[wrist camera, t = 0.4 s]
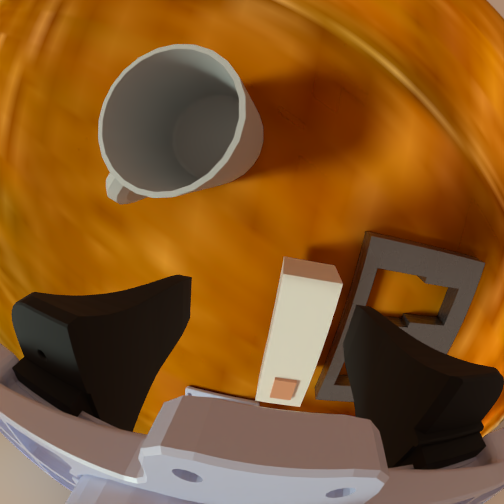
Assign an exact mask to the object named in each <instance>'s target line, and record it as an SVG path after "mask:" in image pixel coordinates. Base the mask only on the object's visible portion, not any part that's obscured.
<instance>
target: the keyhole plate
mask: <svg viewBox="0 0 504 504" xmlns="http://www.w3.org/2000/svg"><path fill="white" fill-rule="evenodd" d="M484 265H485V263H484V262H482V261H481V260H479V259H478V258H476V257H472V256H469V255H465V254H461V253H457V252H454V251H450V250H446V249H442V248H438V247H434V246H430V245H426V244H422V243H417V242H413V241H409V240H405V239H400V238H396V237H391V236H387V235H382V234H378V233H373V232H368V231H365V235H364V240H363V244H362V248H361V252H360V256H359V259H358V263H357V267H356V271H355V274H354V278H353V281H352V285H351V288H350V291H349V295H348V298H347V301H346V305H345V308H344V311H343V314H342V317H341V320H340V323H339V326H338V329H337V332H336V335H335V337H334V340H333V343H332V346H331V348H330V351H329V354H328V356H327V359H326V362H325V364H324V367H323V369H322V372H321V374H320V377H319V379H318V382H317V384H316V386H315V398H316V399H318V400H331V401H348V402H354V399H353V395H352V390H351V386H350V382H349V378H348V375H340V374H339V372H340V370H341V368H342V365H343V363H344V361H345V360H344V349H343V342H344V339H345V336H346V333H347V331H348V328H349V325H350V322H351V319H352V316H353V313H354V310H355V307H356V305H362V306H366V303H367V300H368V297H369V294H370V291H371V288H372V285H373V281H374V278H375V275H376V271H377V268H380V269H385V270H391V271H396V272H402V273H407V274H413V275H417V276H418V277H419V278H420V279H421V280H422V281H423V282H424V283H428V284H434V285H439V286H445V287H448V290H447V292H446V295H445V298H444V300H443V303H442V305H441V308H440V310H439V313H438V315H437V317H432V316H423V315H414V314H405V313H403V316H402V318H396V317H387V316H384V317H386V318H387V319H389V320H390V321H391V322H393V323H394V324H395V325H397V326H398V327H399V328H401V329H402V330H404V331H405V332H407V333H408V334H410V335H411V336H413V337H414V338H416V339H417V340H419V341H421V342H422V343H424V344H426V345H428V346H430V347H431V348H433V349H435V350H438V351H440V352H442V353H444V354H447V352H448V351H449V349H450V347H451V345H452V343H453V341H454V339H455V337H456V335H457V333H458V331H459V329H460V327H461V324H462V322H463V320H464V318H465V316H466V313H467V311H468V309H469V306H470V304H471V301H472V299H473V296H474V294H475V291H476V288H477V286H478V283H479V280H480V277H481V274H482V271H483V268H484Z"/></svg>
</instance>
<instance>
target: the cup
mask: <svg viewBox="0 0 504 504" xmlns="http://www.w3.org/2000/svg"><path fill="white" fill-rule="evenodd" d="M98 140H99V145H100V150H101V154H102V157H103V159H104V162H105V164H106V166H107V168H108V169H109V171H110V174H109V175H108V177H107V179H106V190H107V195H108V197H109V198H111V199H112V200H114V201H116V202H117V203H119V204H129V203H132V202H136V201H138V200H141V199H144V198H146V197H152V198H162V197H175V196H179V195H183V194H187V193H190V192H194V191H198V190H202V189H206V188H210V187H215V186H219V185H222V184H225V183H229V182H232V181H234V180H235V179H237V178H239V177H240V176H242V175H244V174H245V173H246V172H247V171H248V170H249V169H250V168H251V167H252V166H253V165H254V163H255V161H256V160H257V158H258V156H259V155H260V152H261V148H262V145H263V125H262V121H261V118H260V115H259V113H258V111H257V109H256V107H255V105H254V103H253V101H252V99H251V98H250V96H249V94H248V92H247V90H246V88H245V87H244V85H243V83H242V81H241V79H240V78H239V76H238V75H237V73H236V72H235V70H234V69H233V68H232V66H231V65H230V64H229V62H228V61H227V60H225V59H224V58H223V57H221V56H220V55H218V54H217V53H215V52H214V51H213V50H210V49H207V48H204V47H200V46H197V45H189V44H174V45H170V46H166V47H161V48H157V49H155V50H153V51H151V52H149V53H147V54H145V55H143V56H141V57H139V58H138V59H137V60H135V61H134V62H133V63H132V64H131V65H129V66H128V67H127V68H126V69H125V70H124V71H123V72H122V73H121V74H120V76H119V77H118V78H117V79H116V81H115V82H114V83H113V84H112V86H111V88H110V90H109V92H108V94H107V96H106V98H105V100H104V102H103V106H102V109H101V113H100V118H99V127H98Z"/></svg>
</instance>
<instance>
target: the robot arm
mask: <svg viewBox="0 0 504 504" xmlns="http://www.w3.org/2000/svg"><path fill="white" fill-rule="evenodd" d="M191 280H192V277H187V276H182V275H174V276H170V277H167V278H164V279H161V280H158V281H155V282H152V283H149V284H145V285H142V286H138V287H135V288H131V289H128V290H123V291H119V292H113V293H107V294H97V295H85V296H68V295H54V294H46V293H38V292H33V293H31V294H29V295H28V296H26V297H24V298H23V299H21V300H19V301H18V302H16V303H15V304H14V306H13V309H12V322H13V326H14V329H15V332H16V335H17V338H18V341H19V344H20V347H21V349H22V352H23V354H24V356H25V357H24V358H22V359H21V360H20V361H19V360H18V358H17V357H16V356H15V355H14V354H13V353H12V352H11V351H9V350H8V349H7V348H6V347H4V346H3V345H2V344H0V432H1V433H2V434H3V435H4V436H5V437H6V438H7V439H8V440H9V441H10V442H11V443H12V444H13V445H14V446H15V447H16V448H17V449H19V450H20V451H21V452H22V453H23V454H24V455H25V456H26V457H27V458H29V459H30V460H31V461H32V462H33V463H34V464H36V465H37V466H38V467H39V468H40V469H42V470H43V471H44V472H45V473H47V474H48V475H49V476H51V477H52V478H53V479H55V480H56V481H57V482H59V483H60V484H62V485H63V486H64V487H66V488H67V489H69V490H70V491H72V492H71V494H70V496H69V497H68V499H67V501H66V502H65V504H484V503H485V502H487V501H488V500H489V499H491V498H492V497H493V496H495V495H496V494H497V493H499V492H500V491H501V490H502V489H504V428H501V429H498V430H496V431H493V432H490V433H488V434H487V435H485V436H484V437H483V438H482V436H481V434H480V431H482V430H483V428H484V426H483V424H482V422H481V420H482V419H483V418H484V417H485V416H486V414H487V413H488V412H489V410H490V409H491V408H492V406H493V405H494V404H495V402H496V401H497V399H498V398H499V396H500V394H501V392H502V389H503V385H504V379H503V376H502V375H501V374H500V373H499V371H498V370H497V369H496V368H494V367H488V366H483V365H478V364H474V363H470V362H467V361H463V360H460V359H457V358H454V357H452V356H449V355H447V354H444V353H442V352H440V351H438V350H435V349H433V348H431V347H430V346H428V345H426V344H424V343H422V342H421V341H419V340H417V339H416V338H414V337H413V336H411V335H410V334H408V333H407V332H405V331H404V330H402V329H401V328H399V327H398V326H397V325H395V324H394V323H393V322H391V321H390V320H389V319H387V318H386V317H384V316H383V315H382V314H380V313H379V312H378V311H376V310H375V309H373V308H371V307H369V306H362V305H356V307H355V310H354V313H353V316H352V319H351V322H350V325H349V328H348V331H347V333H346V336H345V339H344V342H343V349H344V360H345V365H346V369H347V374H348V378H349V382H350V386H351V390H352V395H353V399H354V405H355V414H356V417H354V416H349V415H344V414H324V413H310V412H299V411H290V410H281V409H274V408H267V407H260V406H259V405H260V403H259V402H257V401H254V400H248V399H243V398H237V397H233V396H228V395H223V394H219V393H214V392H210V391H206V390H202V389H198V388H194V387H190V386H188V387H186V390H185V396H181V397H178V398H175V399H173V400H170V401H167V402H165V403H164V404H163V406H162V408H161V410H160V412H159V414H158V416H157V417H156V419H155V421H154V423H153V425H152V427H151V429H150V431H149V433H148V435H146V434H140V433H135V432H133V429H134V426H135V423H136V421H137V418H138V415H139V413H140V410H141V408H142V405H143V403H144V401H145V398H146V396H147V394H148V391H149V389H150V387H151V385H152V383H153V381H154V379H155V377H156V375H157V373H158V371H159V370H160V368H161V366H162V365H163V363H164V362H165V360H166V359H167V357H168V356H169V354H170V353H171V351H172V350H173V348H174V347H175V345H176V344H177V342H178V340H179V339H180V337H181V336H182V334H183V332H184V330H185V328H186V326H187V323H188V321H189V319H190V303H191Z"/></svg>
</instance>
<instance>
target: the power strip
mask: <svg viewBox="0 0 504 504" xmlns="http://www.w3.org/2000/svg"><path fill="white" fill-rule="evenodd" d="M342 286H343V283H342V280H341V278H340V276H339V274H338V272H337V269H336V267H335V265H330V264H324V263H318V262H313V261H307V260H301V259H296V258H290V257H284V260H283V265H282V270H281V275H280V280H279V285H278V291H277V296H276V300H275V305H274V310H273V315H272V320H271V325H270V329H269V334H268V339H267V343H266V348H265V352H264V357H263V361H262V366H261V370H260V375H259V381H258V386H257V392H256V398H255V401H261V402H267V403H274V404H281V405H289V406H297V407H300V405H301V403H302V401H303V398H304V396H305V393H306V391H307V388H308V386H309V383H310V381H311V378H312V376H313V373H314V371H315V368H316V365H317V362H318V360H319V357H320V354H321V351H322V349H323V346H324V343H325V340H326V337H327V334H328V331H329V328H330V325H331V322H332V319H333V316H334V313H335V309H336V306H337V303H338V299H339V296H340V293H341V289H342Z"/></svg>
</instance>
